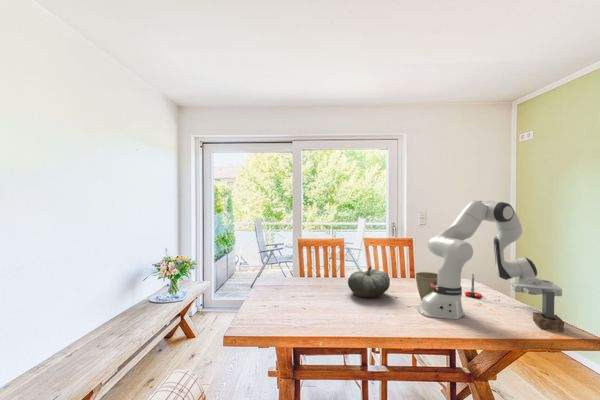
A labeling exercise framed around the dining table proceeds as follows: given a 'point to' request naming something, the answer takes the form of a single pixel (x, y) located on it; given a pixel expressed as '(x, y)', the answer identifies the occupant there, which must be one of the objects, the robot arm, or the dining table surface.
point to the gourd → (369, 283)
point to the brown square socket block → (548, 322)
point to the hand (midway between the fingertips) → (541, 293)
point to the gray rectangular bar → (548, 304)
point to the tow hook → (472, 293)
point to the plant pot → (425, 283)
